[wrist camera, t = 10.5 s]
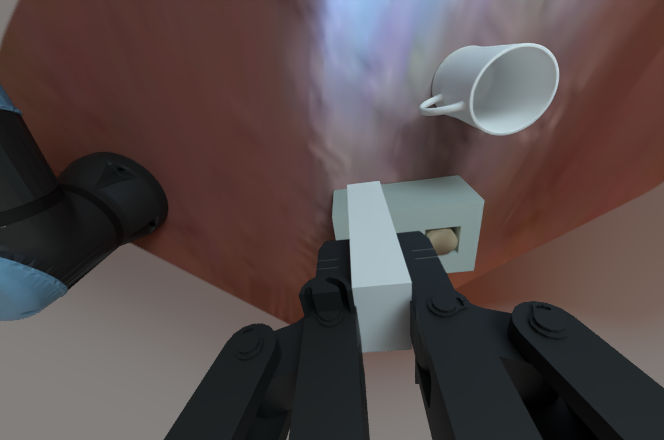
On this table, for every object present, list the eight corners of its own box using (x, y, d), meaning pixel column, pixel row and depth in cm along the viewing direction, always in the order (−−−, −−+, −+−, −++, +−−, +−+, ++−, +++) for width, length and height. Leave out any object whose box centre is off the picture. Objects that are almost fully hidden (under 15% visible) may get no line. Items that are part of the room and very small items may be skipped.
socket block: (342, 248, 51) (343, 282, 43) (333, 190, 45) (332, 217, 37) (452, 237, 49) (473, 270, 41) (458, 175, 43) (484, 200, 35)
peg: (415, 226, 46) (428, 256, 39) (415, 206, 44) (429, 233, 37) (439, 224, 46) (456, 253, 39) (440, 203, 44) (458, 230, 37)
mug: (410, 129, 39) (435, 153, 29) (404, 63, 35) (430, 64, 25) (495, 108, 38) (554, 127, 27) (499, 37, 33) (571, 26, 23)
